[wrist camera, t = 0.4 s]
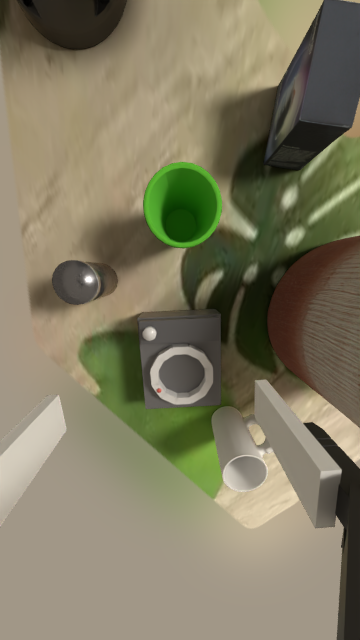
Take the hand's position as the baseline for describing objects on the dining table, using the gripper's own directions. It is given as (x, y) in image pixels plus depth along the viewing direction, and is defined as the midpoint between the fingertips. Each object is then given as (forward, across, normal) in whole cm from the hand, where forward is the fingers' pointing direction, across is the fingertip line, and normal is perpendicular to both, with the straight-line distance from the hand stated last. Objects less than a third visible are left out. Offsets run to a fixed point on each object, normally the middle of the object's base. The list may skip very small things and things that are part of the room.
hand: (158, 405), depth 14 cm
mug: (+25, +11, -20) cm, 34 cm away
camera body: (+25, +2, -6) cm, 26 cm away
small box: (+25, +20, +28) cm, 43 cm away
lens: (+25, -11, +8) cm, 28 cm away
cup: (+25, +3, +16) cm, 30 cm away
